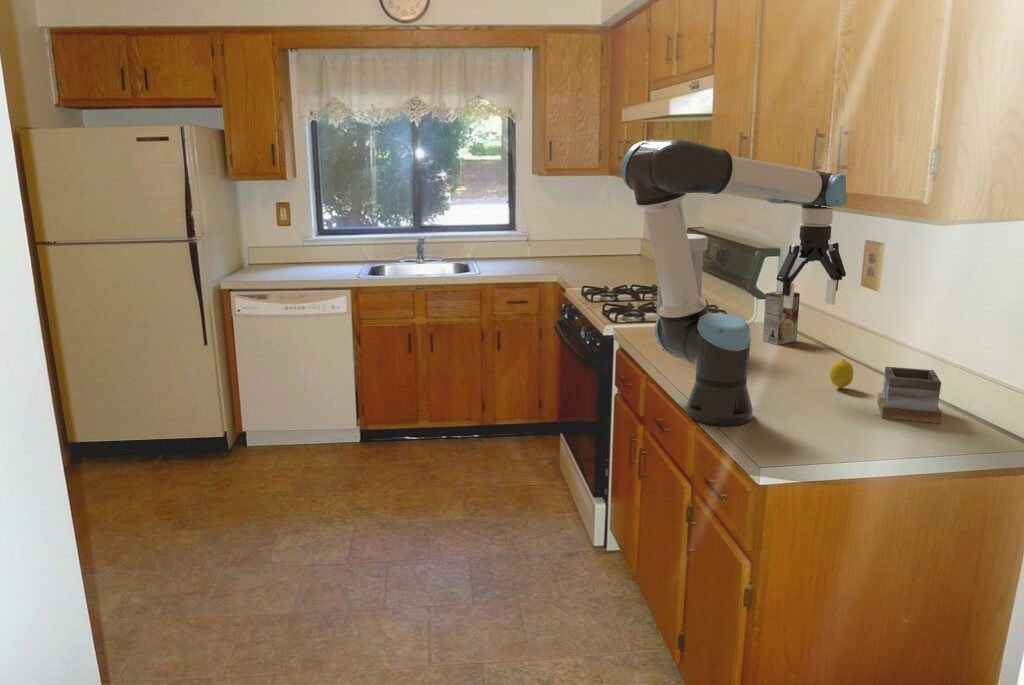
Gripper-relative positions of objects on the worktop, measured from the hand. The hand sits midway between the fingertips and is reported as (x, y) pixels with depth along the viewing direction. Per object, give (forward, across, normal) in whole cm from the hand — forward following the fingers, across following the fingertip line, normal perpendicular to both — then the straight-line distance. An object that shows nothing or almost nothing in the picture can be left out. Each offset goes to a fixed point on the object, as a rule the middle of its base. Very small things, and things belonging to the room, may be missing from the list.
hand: (809, 305), depth 200 cm
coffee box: (+21, -22, -38) cm, 49 cm away
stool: (+21, +11, -46) cm, 52 cm away
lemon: (+21, -4, +9) cm, 23 cm away
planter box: (+21, -6, +30) cm, 37 cm away
